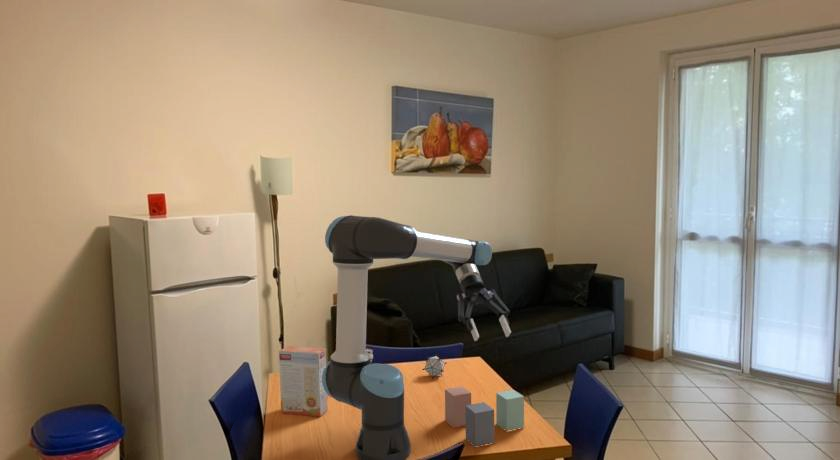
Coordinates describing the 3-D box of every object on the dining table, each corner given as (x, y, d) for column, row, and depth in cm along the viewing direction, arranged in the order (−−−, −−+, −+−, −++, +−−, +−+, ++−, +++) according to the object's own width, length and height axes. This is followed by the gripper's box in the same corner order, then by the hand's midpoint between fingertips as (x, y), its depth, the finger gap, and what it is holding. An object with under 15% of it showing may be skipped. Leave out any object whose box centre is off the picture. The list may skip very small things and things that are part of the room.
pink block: (471, 424, 175) (471, 392, 175) (453, 427, 173) (453, 395, 172) (462, 417, 181) (462, 386, 180) (445, 420, 179) (444, 389, 178)
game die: (430, 387, 217) (414, 368, 215) (436, 372, 225) (420, 353, 223) (449, 379, 213) (433, 359, 211) (454, 364, 220) (438, 345, 218)
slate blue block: (494, 443, 163) (494, 409, 162) (475, 447, 160) (475, 413, 159) (483, 435, 168) (483, 402, 167) (465, 438, 166) (465, 405, 165)
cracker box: (328, 410, 187) (326, 347, 185) (320, 417, 182) (318, 353, 180) (289, 406, 191) (287, 344, 189) (280, 413, 185) (278, 350, 183)
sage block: (523, 428, 172) (524, 396, 171) (506, 432, 170) (506, 399, 169) (513, 420, 178) (513, 389, 177) (496, 424, 175) (496, 392, 175)
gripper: (495, 283, 201) (519, 338, 188) (435, 289, 192) (456, 347, 179) (503, 270, 196) (529, 326, 183) (442, 276, 187) (463, 334, 174)
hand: (493, 336), depth 181 cm, fingers open, 11 cm apart
